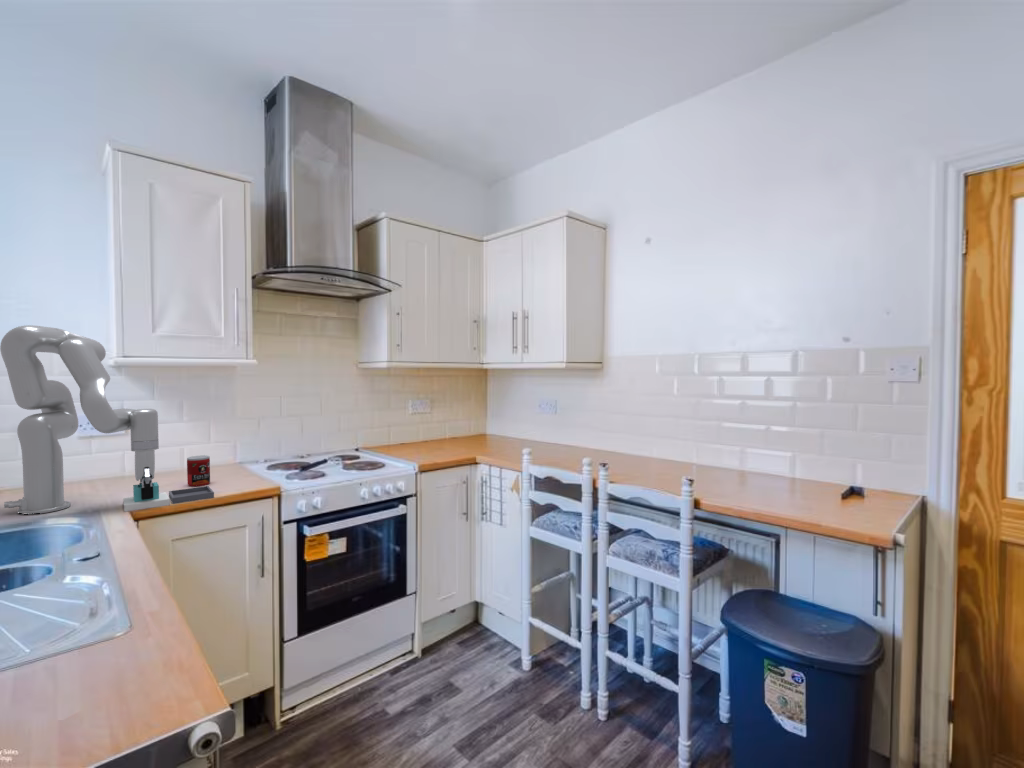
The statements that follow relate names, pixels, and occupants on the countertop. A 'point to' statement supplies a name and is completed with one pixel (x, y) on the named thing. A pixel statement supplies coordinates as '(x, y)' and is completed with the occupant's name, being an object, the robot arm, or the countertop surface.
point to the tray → (191, 494)
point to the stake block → (145, 502)
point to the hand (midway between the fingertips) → (146, 496)
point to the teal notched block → (138, 492)
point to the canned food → (198, 470)
